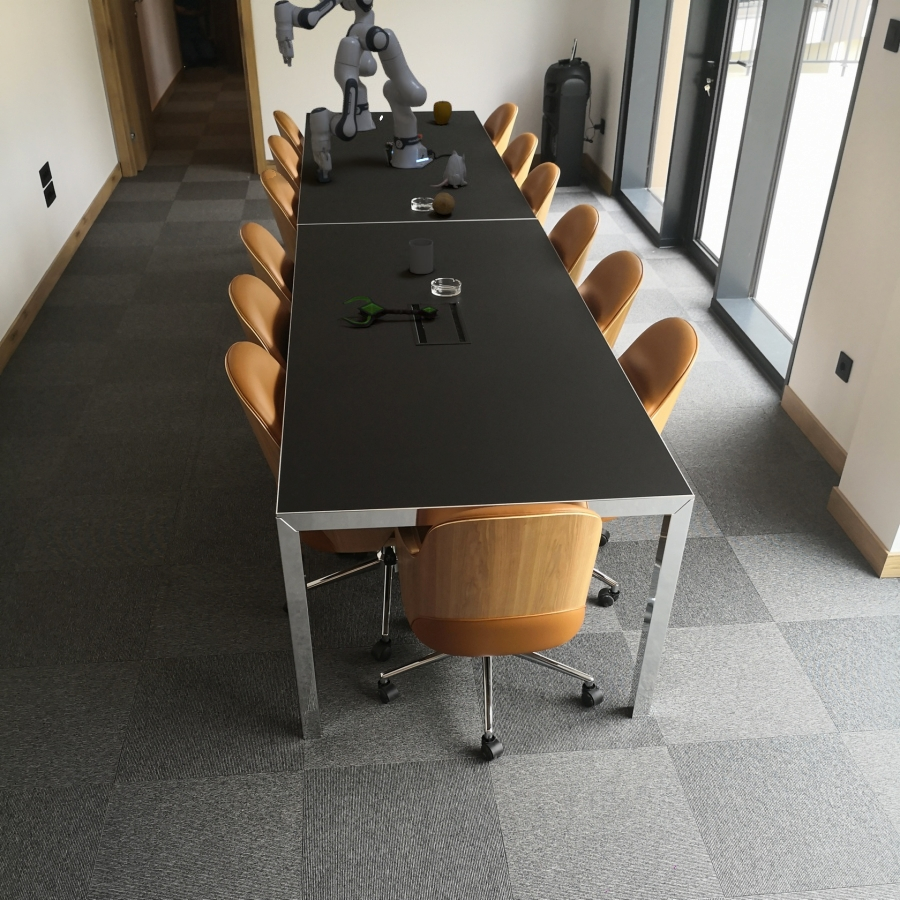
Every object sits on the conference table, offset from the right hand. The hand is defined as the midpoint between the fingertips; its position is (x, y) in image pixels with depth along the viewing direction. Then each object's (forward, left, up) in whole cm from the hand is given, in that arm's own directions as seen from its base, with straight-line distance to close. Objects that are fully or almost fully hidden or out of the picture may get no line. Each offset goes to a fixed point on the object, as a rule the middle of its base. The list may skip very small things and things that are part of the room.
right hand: (323, 176), depth 404 cm
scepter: (+113, +117, -2) cm, 163 cm away
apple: (-129, -16, -2) cm, 130 cm away
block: (0, 0, -2) cm, 2 cm away
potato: (+13, +74, -2) cm, 75 cm away
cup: (+72, +102, -2) cm, 125 cm away
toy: (-19, +56, -2) cm, 59 cm away
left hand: (-55, -65, +36) cm, 92 cm away
